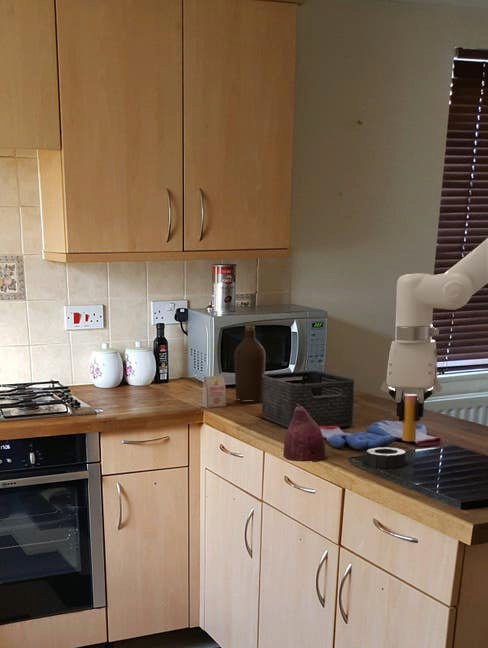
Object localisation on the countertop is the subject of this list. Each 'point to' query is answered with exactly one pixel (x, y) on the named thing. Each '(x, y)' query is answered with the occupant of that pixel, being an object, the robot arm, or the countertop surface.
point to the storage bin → (308, 398)
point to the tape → (385, 457)
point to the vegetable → (303, 438)
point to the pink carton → (214, 391)
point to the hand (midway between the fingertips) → (409, 419)
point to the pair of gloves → (376, 436)
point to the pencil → (409, 417)
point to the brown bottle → (249, 368)
